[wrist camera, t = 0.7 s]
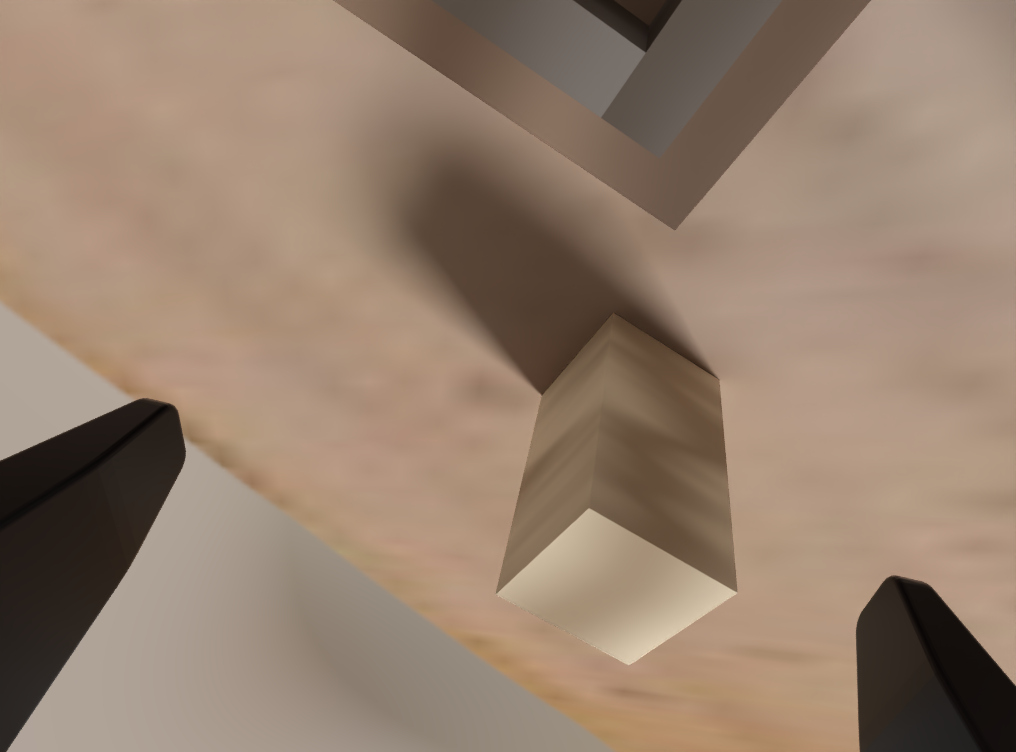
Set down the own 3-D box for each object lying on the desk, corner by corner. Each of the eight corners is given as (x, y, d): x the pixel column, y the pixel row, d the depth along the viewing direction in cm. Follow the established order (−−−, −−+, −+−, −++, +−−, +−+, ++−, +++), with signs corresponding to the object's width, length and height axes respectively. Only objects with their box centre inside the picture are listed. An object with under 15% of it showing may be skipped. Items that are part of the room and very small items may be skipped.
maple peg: (719, 379, 23) (737, 592, 16) (639, 454, 25) (628, 665, 19) (613, 312, 22) (588, 507, 15) (541, 395, 24) (495, 594, 18)
